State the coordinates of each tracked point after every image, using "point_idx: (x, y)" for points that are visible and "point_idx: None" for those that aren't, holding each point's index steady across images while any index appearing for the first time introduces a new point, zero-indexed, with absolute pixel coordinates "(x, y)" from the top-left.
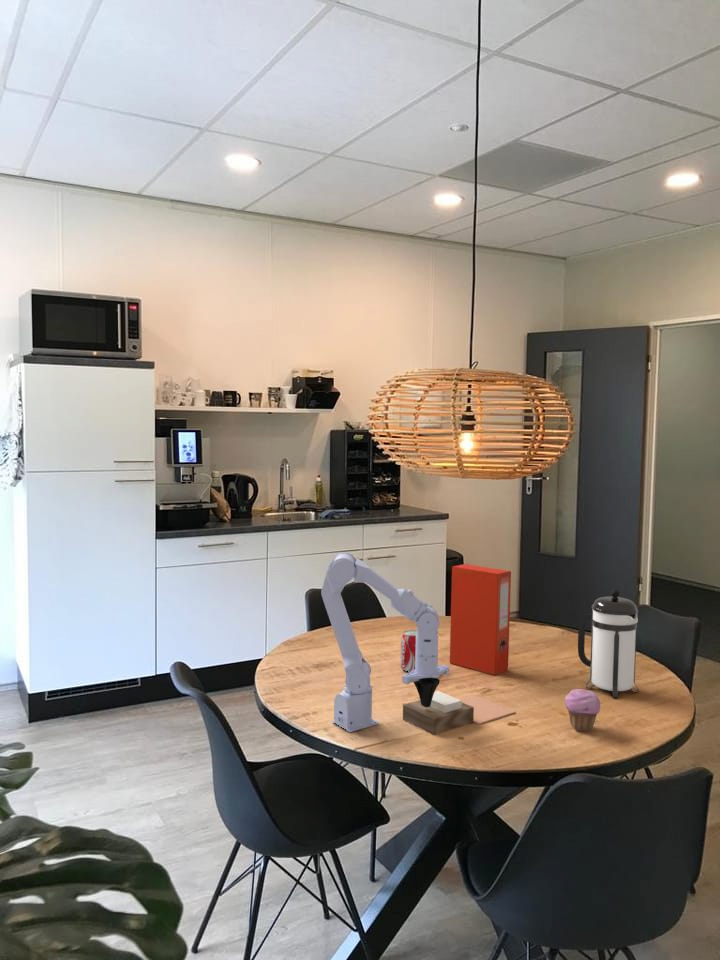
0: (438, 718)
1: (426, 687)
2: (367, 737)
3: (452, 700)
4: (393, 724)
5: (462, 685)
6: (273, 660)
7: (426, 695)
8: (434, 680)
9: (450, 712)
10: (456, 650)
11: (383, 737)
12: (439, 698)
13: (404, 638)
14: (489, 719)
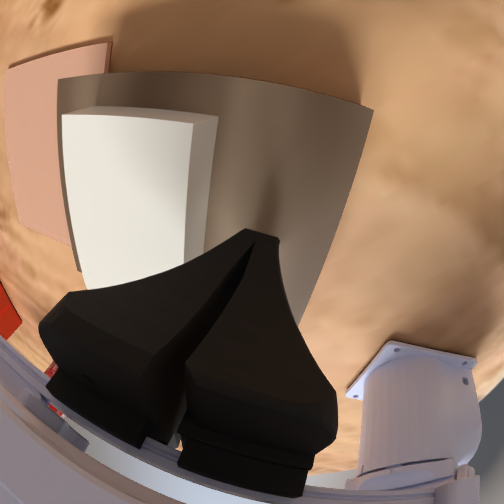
0: (328, 96)
1: (313, 374)
2: (496, 311)
3: (93, 151)
4: (361, 306)
5: (24, 269)
6: None
7: (284, 295)
8: (108, 376)
9: (182, 96)
10: (1, 328)
11: (486, 275)
12: (131, 232)
13: None
14: (65, 53)
